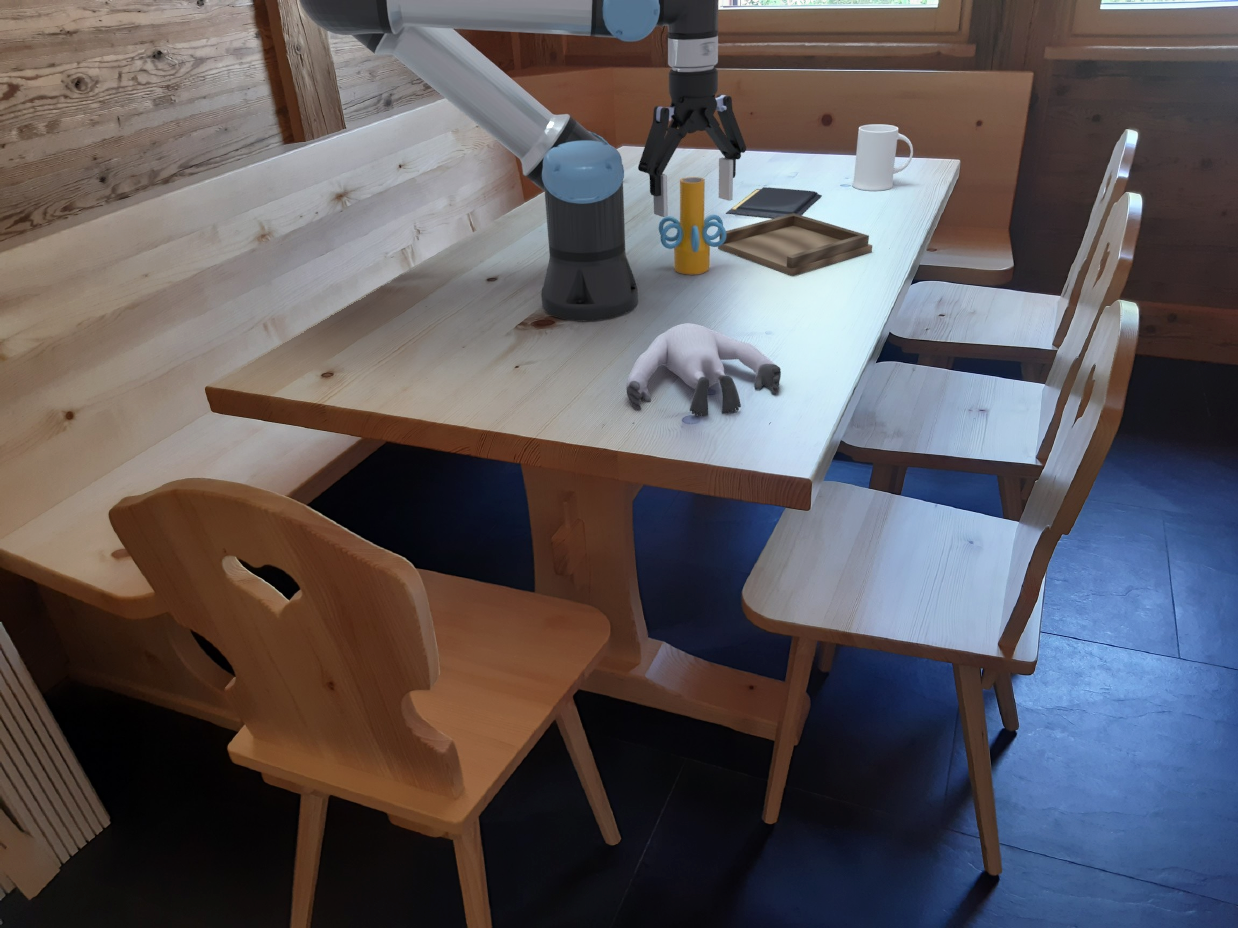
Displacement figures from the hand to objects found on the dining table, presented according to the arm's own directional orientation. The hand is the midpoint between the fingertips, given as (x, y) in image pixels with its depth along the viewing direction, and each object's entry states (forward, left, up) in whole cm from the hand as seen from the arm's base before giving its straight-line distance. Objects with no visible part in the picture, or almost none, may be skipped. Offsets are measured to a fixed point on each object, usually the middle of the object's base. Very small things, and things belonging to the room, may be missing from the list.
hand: (693, 207), depth 150 cm
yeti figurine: (-26, -34, -11) cm, 44 cm away
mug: (+64, +15, -11) cm, 66 cm away
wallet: (+38, +20, -12) cm, 44 cm away
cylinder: (0, 0, -11) cm, 11 cm away
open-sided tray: (+20, -4, -11) cm, 23 cm away
